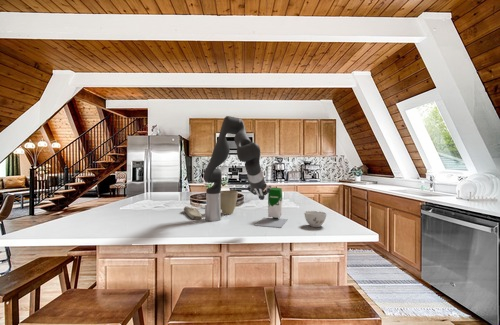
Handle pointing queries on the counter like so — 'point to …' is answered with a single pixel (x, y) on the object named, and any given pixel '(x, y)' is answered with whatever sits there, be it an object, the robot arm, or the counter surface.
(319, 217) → the teacup
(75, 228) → the counter surface
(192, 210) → the elongated rock
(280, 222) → the slate mat
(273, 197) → the milk carton
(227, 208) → the plant pot
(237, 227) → the counter surface
